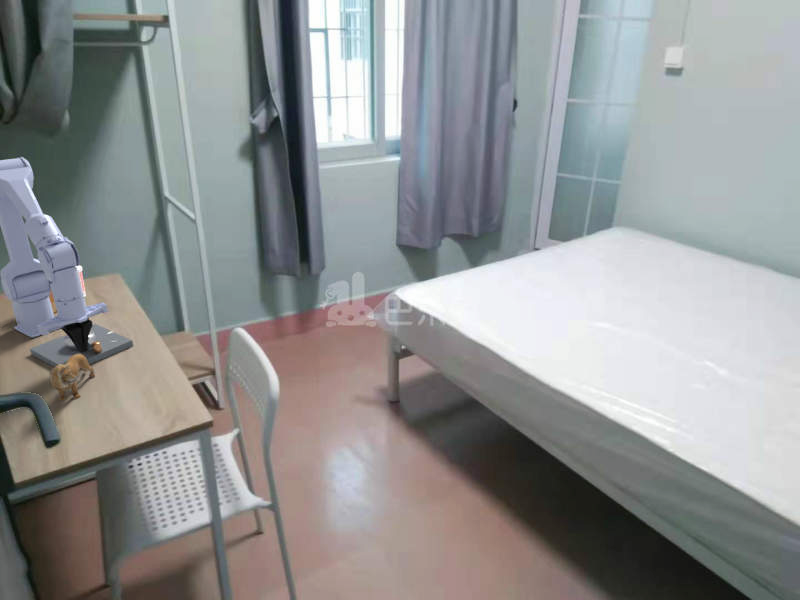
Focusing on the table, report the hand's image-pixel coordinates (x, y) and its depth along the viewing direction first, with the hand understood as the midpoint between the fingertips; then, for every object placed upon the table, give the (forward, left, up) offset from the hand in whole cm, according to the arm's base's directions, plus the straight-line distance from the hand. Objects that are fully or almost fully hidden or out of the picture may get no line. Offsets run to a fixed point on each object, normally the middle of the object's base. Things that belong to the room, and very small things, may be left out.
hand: (82, 350), depth 130 cm
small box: (-35, +11, -3) cm, 37 cm away
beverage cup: (-37, +19, -3) cm, 42 cm away
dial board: (-5, +3, -3) cm, 7 cm away
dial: (-3, +3, -1) cm, 4 cm away
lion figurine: (+11, -8, -3) cm, 14 cm away
